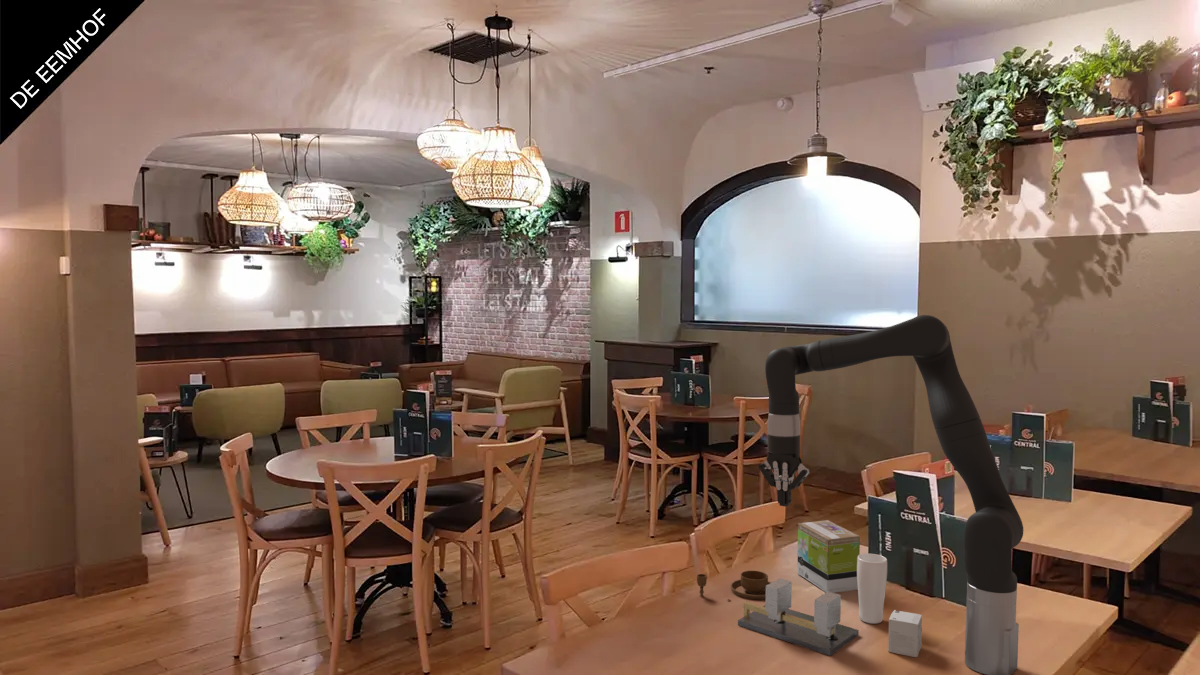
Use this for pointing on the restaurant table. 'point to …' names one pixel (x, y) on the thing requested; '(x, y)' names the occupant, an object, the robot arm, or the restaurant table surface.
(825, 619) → the beam
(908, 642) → the skincare box
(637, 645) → the restaurant table surface
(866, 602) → the drinking glass
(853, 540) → the tea box
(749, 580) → the place setting
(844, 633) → the bolt-hole plate
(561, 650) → the restaurant table surface
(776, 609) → the block
